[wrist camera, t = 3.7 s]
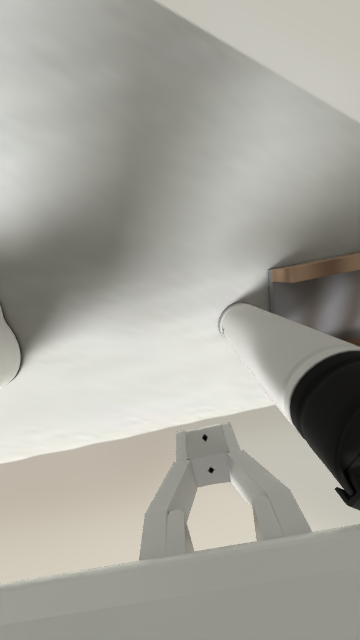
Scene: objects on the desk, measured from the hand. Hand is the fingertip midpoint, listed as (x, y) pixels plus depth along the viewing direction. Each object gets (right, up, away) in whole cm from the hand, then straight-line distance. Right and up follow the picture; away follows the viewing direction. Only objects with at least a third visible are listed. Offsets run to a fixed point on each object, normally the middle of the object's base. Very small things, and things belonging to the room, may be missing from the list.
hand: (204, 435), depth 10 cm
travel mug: (+7, +6, +17) cm, 19 cm away
